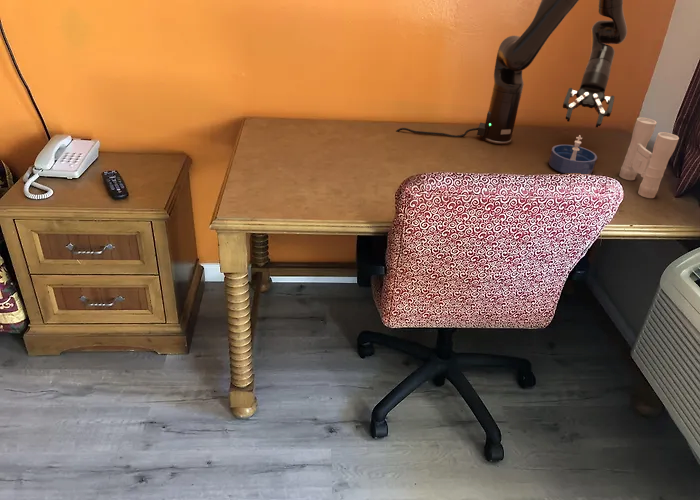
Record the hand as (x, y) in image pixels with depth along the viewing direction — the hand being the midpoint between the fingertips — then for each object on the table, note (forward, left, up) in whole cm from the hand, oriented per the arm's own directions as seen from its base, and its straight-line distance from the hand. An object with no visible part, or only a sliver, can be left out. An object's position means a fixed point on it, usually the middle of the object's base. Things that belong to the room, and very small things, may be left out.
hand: (582, 123), depth 185 cm
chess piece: (0, -6, -12) cm, 14 cm away
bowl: (0, -6, -13) cm, 14 cm away
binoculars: (+19, -10, -13) cm, 25 cm away
